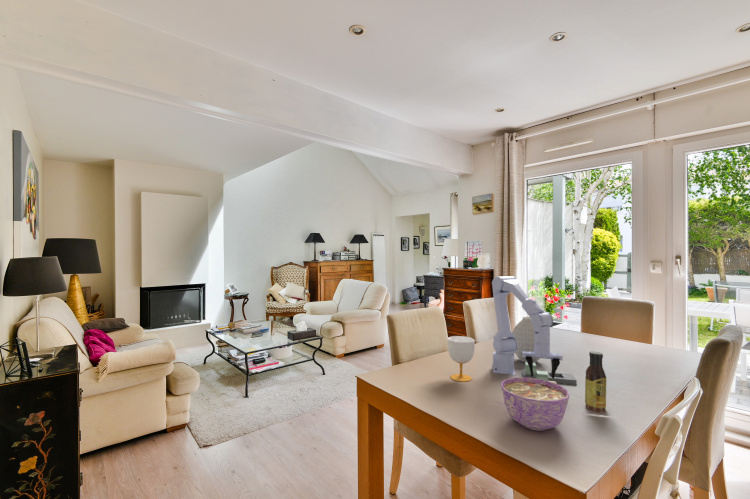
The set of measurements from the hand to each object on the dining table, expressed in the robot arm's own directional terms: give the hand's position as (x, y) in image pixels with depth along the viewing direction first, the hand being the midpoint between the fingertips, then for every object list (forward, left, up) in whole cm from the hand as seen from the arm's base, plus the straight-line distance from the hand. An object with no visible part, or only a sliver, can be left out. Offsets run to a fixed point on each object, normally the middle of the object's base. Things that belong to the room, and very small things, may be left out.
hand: (542, 376), depth 142 cm
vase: (-1, +38, -5) cm, 38 cm away
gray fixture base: (+4, +12, -5) cm, 13 cm away
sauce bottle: (+15, -15, -5) cm, 22 cm away
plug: (0, 0, -5) cm, 5 cm away
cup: (-32, +3, -5) cm, 33 cm away
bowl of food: (-7, -33, -5) cm, 34 cm away
